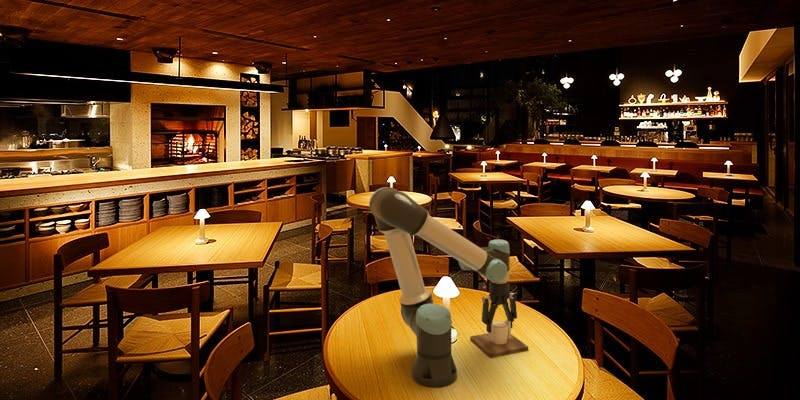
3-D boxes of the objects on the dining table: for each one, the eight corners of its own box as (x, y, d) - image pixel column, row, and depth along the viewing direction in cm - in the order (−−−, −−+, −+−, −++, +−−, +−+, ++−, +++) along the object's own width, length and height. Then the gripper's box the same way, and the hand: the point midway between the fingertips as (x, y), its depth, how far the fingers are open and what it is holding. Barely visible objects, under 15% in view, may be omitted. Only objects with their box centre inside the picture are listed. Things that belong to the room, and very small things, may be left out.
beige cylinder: (508, 345, 176) (508, 328, 175) (490, 344, 177) (490, 327, 176) (508, 338, 183) (508, 320, 182) (490, 336, 184) (490, 319, 183)
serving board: (490, 357, 170) (490, 354, 170) (470, 340, 185) (470, 336, 185) (528, 350, 175) (528, 346, 175) (505, 333, 190) (505, 330, 190)
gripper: (480, 287, 170) (481, 346, 173) (527, 280, 176) (527, 337, 179) (471, 281, 177) (472, 338, 180) (516, 274, 183) (516, 330, 186)
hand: (499, 338), depth 180 cm, fingers closed on beige cylinder, 7 cm apart
